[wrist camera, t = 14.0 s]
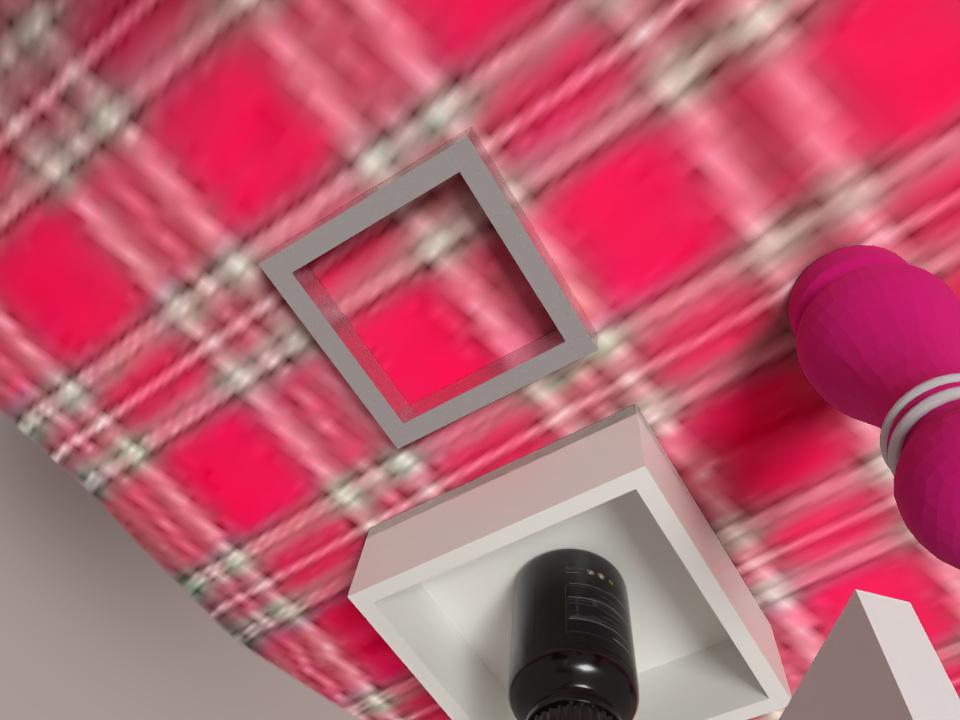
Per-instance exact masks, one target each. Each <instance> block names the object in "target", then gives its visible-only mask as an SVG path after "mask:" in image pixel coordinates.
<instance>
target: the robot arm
mask: <svg viewBox="0 0 960 720" xmlns="http://www.w3.org/2000/svg"><path fill="white" fill-rule="evenodd" d="M779 720H960V699H959V697H958V695H957V693H956V691H955V689H954V687H953V685H952V683H951V681H950V680H949V678H948V676H947V674H946V672H945V670H944V668H943V666H942V664H941V662H940V660H939V658H938V656H937V654H936V652H935V650H934V648H933V646H932V644H931V642H930V641H929V639H928V637H927V635H926V633H925V631H924V629H923V627H922V625H921V623H920V621H919V619H918V617H917V615H916V613H915V611H914V609H913V607H912V605H911V603H910V602H906V601H902V600H898V599H894V598H890V597H886V596H882V595H878V594H873V593H869V592H865V591H861V590H857V589H855V591H854V593H853V594H852V596H851V598H850V599H849V601H848V603H847V604H846V606H845V608H844V610H843V611H842V613H841V615H840V616H839V618H838V620H837V622H836V623H835V625H834V627H833V628H832V630H831V632H830V633H829V635H828V637H827V639H826V640H825V642H824V644H823V645H822V647H821V649H820V650H819V652H818V654H817V656H816V657H815V659H814V661H813V662H812V664H811V666H810V667H809V669H808V671H807V673H806V674H805V676H804V678H803V679H802V681H801V683H800V685H799V686H798V688H797V690H796V691H795V693H794V695H793V696H792V698H791V700H790V702H789V703H788V705H787V707H786V708H785V710H784V712H783V713H782V715H781V717H780V719H779Z"/></svg>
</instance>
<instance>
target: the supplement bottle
mask: <svg viewBox="0 0 960 720" xmlns="http://www.w3.org/2000/svg"><path fill="white" fill-rule="evenodd" d="M508 699H509V704H510V708H511V710H512V713H513V715H514V717H515V718H516V720H633V719H634V717H635V715H636V712H637V710H638V705H639V685H638V676H637V668H636V659H635V651H634V642H633V634H632V625H631V617H630V608H629V601H628V594H627V588H626V585H625V582H624V579H623V577H622V576H621V574H620V572H619V571H618V570H617V569H616V567H615V566H614V565H613V564H611V563H610V562H609V561H608V560H606V559H605V558H603V557H601V556H600V555H597V554H595V553H592V552H590V551H586V550H581V549H572V548H567V549H557V550H553V551H549V552H546V553H544V554H542V555H540V556H538V557H536V558H534V559H533V560H532V561H530V562H529V563H528V564H527V565H526V566H525V567H524V568H523V570H522V571H521V572H520V574H519V576H518V578H517V580H516V583H515V588H514V596H513V609H512V627H511V644H510V662H509V679H508Z"/></svg>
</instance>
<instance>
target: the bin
mask: <svg viewBox="0 0 960 720" xmlns="http://www.w3.org/2000/svg"><path fill="white" fill-rule="evenodd" d="M567 548H572V549H581V550H586V551H590V552H592V553H595V554H597V555H600V556H601V557H603V558H605V559H606V560H608V561H609V562H610V563H611V564H613V565H614V566H615V567H616V569H617V570H618V571H619V572H620V574H621V576H622V577H623V579H624V582H625V585H626V588H627V594H628V601H629V608H630V617H631V625H632V634H633V642H634V651H635V659H636V668H637V676H638V685H639V705H638V710H637V712H636V715H635V717H634V719H633V720H748V719H751V718H754V717H757V716H760V715H763V714H766V713H769V712H772V711H775V710H778V709H781V708H784V707H787V705H788V703H789V702H790V700H791V698H792V696H791V693H790V689H789V686H788V682H787V679H786V676H785V672H784V669H783V666H782V662H781V659H780V655H779V652H778V649H777V645H776V642H775V639H774V635H773V632H772V628H771V625H770V624H769V622H768V620H767V619H766V617H765V615H764V614H763V612H762V611H761V609H760V607H759V606H758V604H757V602H756V601H755V599H754V597H753V596H752V594H751V592H750V591H749V589H748V588H747V586H746V584H745V583H744V581H743V579H742V578H741V576H740V574H739V573H738V571H737V569H736V568H735V566H734V565H733V563H732V561H731V560H730V558H729V556H728V555H727V553H726V551H725V550H724V548H723V546H722V545H721V543H720V542H719V540H718V538H717V537H716V535H715V533H714V532H713V530H712V528H711V527H710V525H709V523H708V522H707V520H706V519H705V517H704V515H703V514H702V512H701V510H700V509H699V507H698V505H697V504H696V502H695V500H694V499H693V497H692V496H691V494H690V492H689V491H688V489H687V487H686V486H685V484H684V482H683V481H682V479H681V477H680V476H679V474H678V473H677V471H676V469H675V468H674V466H673V464H672V463H671V461H670V459H669V458H668V456H667V454H666V453H665V451H664V450H663V448H662V446H661V445H660V443H659V441H658V440H657V438H656V436H655V435H654V433H653V431H652V430H651V428H650V427H649V425H648V423H647V422H646V420H645V418H644V417H643V415H642V413H641V412H640V410H639V408H638V407H637V405H636V404H635V405H633V406H630V407H628V408H626V409H624V410H622V411H620V412H618V413H615V414H613V415H611V416H609V417H607V418H605V419H603V420H600V421H598V422H596V423H594V424H592V425H590V426H588V427H585V428H583V429H581V430H579V431H577V432H575V433H573V434H570V435H568V436H566V437H564V438H562V439H560V440H558V441H555V442H553V443H551V444H549V445H547V446H545V447H543V448H540V449H538V450H536V451H534V452H532V453H530V454H528V455H525V456H523V457H521V458H519V459H517V460H515V461H513V462H510V463H508V464H506V465H504V466H502V467H500V468H498V469H495V470H493V471H491V472H489V473H487V474H485V475H483V476H480V477H478V478H476V479H474V480H472V481H470V482H468V483H465V484H463V485H461V486H459V487H457V488H455V489H453V490H450V491H448V492H446V493H444V494H442V495H440V496H438V497H435V498H433V499H431V500H429V501H427V502H425V503H423V504H420V505H418V506H416V507H414V508H412V509H410V510H408V511H405V512H403V513H401V514H399V515H397V516H395V517H393V518H390V519H388V520H386V521H384V522H382V523H380V524H378V525H375V526H373V527H371V528H370V529H369V532H368V535H367V538H366V541H365V544H364V547H363V551H362V554H361V557H360V560H359V563H358V566H357V569H356V572H355V575H354V578H353V581H352V584H351V587H350V590H349V593H348V596H347V597H348V598H349V599H350V600H351V602H352V603H353V604H354V605H355V606H356V608H357V609H358V610H359V611H360V612H361V613H362V615H363V616H364V617H365V618H366V619H367V620H368V622H369V623H370V624H371V625H372V626H373V628H374V629H375V630H376V631H377V632H378V633H379V635H380V636H381V637H382V638H383V639H384V640H385V642H386V643H387V644H388V645H389V646H390V648H391V649H392V650H393V651H394V652H395V653H396V655H397V656H398V657H399V658H400V659H401V661H402V662H403V663H404V664H405V665H406V666H407V668H408V669H409V670H410V671H411V672H412V673H413V675H414V676H415V677H416V678H417V679H418V681H419V682H420V683H421V684H422V685H423V686H424V688H425V689H426V690H427V691H428V692H429V694H430V695H431V696H432V697H433V698H434V699H435V701H436V702H437V703H438V704H439V705H440V706H441V708H442V709H443V710H444V711H445V712H446V714H447V715H448V716H449V717H450V718H451V719H452V720H516V718H515V717H514V715H513V713H512V710H511V708H510V704H509V699H508V679H509V662H510V644H511V627H512V609H513V596H514V588H515V583H516V580H517V578H518V576H519V574H520V572H521V571H522V570H523V568H524V567H525V566H526V565H527V564H528V563H529V562H530V561H532V560H533V559H534V558H536V557H538V556H540V555H542V554H544V553H546V552H549V551H553V550H557V549H567Z"/></svg>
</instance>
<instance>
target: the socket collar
mask: <svg viewBox="0 0 960 720" xmlns="http://www.w3.org/2000/svg"><path fill="white" fill-rule="evenodd" d="M458 172H460V173H461V175H462V176H463V178H464V180H465V181H466V183H467V184H468V186H469V188H470V189H471V191H472V192H473V194H474V196H475V197H476V199H477V200H478V202H479V204H480V205H481V207H482V208H483V210H484V212H485V213H486V215H487V216H488V218H489V220H490V221H491V223H492V224H493V226H494V228H495V229H496V231H497V232H498V234H499V236H500V237H501V239H502V240H503V242H504V244H505V245H506V247H507V248H508V250H509V252H510V253H511V255H512V256H513V258H514V260H515V261H516V263H517V264H518V266H519V268H520V269H521V271H522V272H523V274H524V276H525V277H526V279H527V280H528V282H529V284H530V285H531V287H532V288H533V290H534V292H535V293H536V295H537V296H538V298H539V300H540V301H541V303H542V304H543V306H544V308H545V309H546V311H547V312H548V314H549V316H550V317H551V319H552V320H553V322H554V324H555V325H556V327H557V328H558V329H557V330H555V331H553V332H551V333H549V334H547V335H545V336H543V337H541V338H539V339H537V340H535V341H534V342H532V343H530V344H528V345H526V346H524V347H522V348H520V349H518V350H516V351H514V352H512V353H510V354H508V355H506V356H504V357H502V358H500V359H498V360H496V361H495V362H493V363H491V364H489V365H487V366H485V367H483V368H481V369H479V370H477V371H475V372H473V373H471V374H469V375H467V376H465V377H463V378H461V379H459V380H457V381H456V382H454V383H452V384H450V385H448V386H446V387H444V388H442V389H440V390H438V391H436V392H434V393H432V394H430V395H428V396H426V397H424V398H422V399H420V400H418V401H416V402H415V403H413V404H411V405H409V404H408V403H407V401H406V400H405V398H404V397H403V396H402V394H401V393H400V392H399V390H398V389H397V388H396V386H395V385H394V383H393V382H392V381H391V379H390V378H389V377H388V375H387V374H386V372H385V371H384V370H383V368H382V367H381V366H380V364H379V363H378V361H377V360H376V359H375V357H374V356H373V355H372V353H371V352H370V351H369V349H368V348H367V346H366V345H365V344H364V342H363V341H362V340H361V338H360V337H359V335H358V334H357V333H356V331H355V330H354V329H353V327H352V326H351V324H350V323H349V322H348V320H347V319H346V318H345V316H344V315H343V313H342V312H341V311H340V309H339V308H338V307H337V305H336V304H335V303H334V301H333V300H332V298H331V297H330V296H329V294H328V293H327V292H326V290H325V289H324V287H323V286H322V285H321V283H320V282H319V281H318V279H317V278H316V276H315V275H314V274H313V272H312V271H311V270H310V268H309V267H308V266H307V263H309V262H311V261H312V260H314V259H316V258H317V257H319V256H321V255H322V254H324V253H326V252H327V251H329V250H331V249H332V248H334V247H336V246H337V245H339V244H341V243H342V242H344V241H346V240H347V239H349V238H351V237H352V236H354V235H356V234H357V233H359V232H360V231H362V230H364V229H365V228H367V227H369V226H370V225H372V224H374V223H375V222H377V221H379V220H380V219H382V218H384V217H385V216H387V215H389V214H390V213H392V212H394V211H395V210H397V209H399V208H400V207H402V206H404V205H405V204H407V203H409V202H410V201H412V200H414V199H415V198H417V197H419V196H420V195H422V194H424V193H425V192H427V191H429V190H430V189H432V188H434V187H435V186H437V185H439V184H440V183H442V182H443V181H445V180H447V179H448V178H450V177H452V176H453V175H455V174H457V173H458ZM259 266H260V267H261V268H262V270H263V271H264V272H265V274H266V275H267V276H268V278H269V279H270V280H271V282H272V283H273V284H274V286H275V287H276V288H277V290H278V291H279V292H280V294H281V295H282V296H283V298H284V299H285V300H286V302H287V303H288V304H289V306H290V307H291V308H292V310H293V311H294V312H295V314H296V315H297V316H298V318H299V319H300V320H301V322H302V323H303V324H304V325H305V327H306V328H307V329H308V331H309V332H310V333H311V335H312V336H313V337H314V339H315V340H316V341H317V343H318V344H319V345H320V347H321V348H322V349H323V351H324V352H325V353H326V355H327V356H328V357H329V359H330V360H331V361H332V363H333V364H334V365H335V367H336V368H337V369H338V371H339V372H340V373H341V375H342V376H343V377H344V379H345V380H346V381H347V383H348V384H349V385H350V387H351V388H352V389H353V391H354V392H355V393H356V395H357V396H358V397H359V399H360V400H361V401H362V402H363V404H364V405H365V406H366V408H367V409H368V410H369V412H370V413H371V414H372V416H373V417H374V418H375V420H376V421H377V422H378V424H379V425H380V426H381V428H382V429H383V430H384V432H385V433H386V434H387V436H388V437H389V438H390V440H391V441H392V442H393V444H394V445H395V446H396V448H397V449H399V448H401V447H403V446H405V445H407V444H409V443H411V442H413V441H415V440H417V439H419V438H421V437H423V436H425V435H427V434H429V433H431V432H433V431H435V430H437V429H439V428H441V427H443V426H445V425H447V424H449V423H451V422H453V421H455V420H457V419H459V418H461V417H463V416H465V415H467V414H469V413H471V412H473V411H475V410H477V409H479V408H481V407H483V406H486V405H488V404H490V403H492V402H494V401H496V400H498V399H500V398H502V397H504V396H506V395H508V394H510V393H512V392H514V391H516V390H518V389H520V388H522V387H524V386H526V385H528V384H530V383H532V382H534V381H536V380H538V379H540V378H542V377H544V376H546V375H548V374H550V373H552V372H554V371H556V370H558V369H560V368H562V367H564V366H566V365H568V364H570V363H572V362H574V361H576V360H578V359H580V358H582V357H584V356H586V355H588V354H590V353H592V352H594V351H596V350H598V340H597V332H596V331H595V329H594V327H593V326H592V324H591V322H590V321H589V319H588V317H587V316H586V314H585V312H584V311H583V309H582V307H581V306H580V304H579V303H578V301H577V299H576V298H575V296H574V294H573V293H572V291H571V289H570V288H569V286H568V284H567V283H566V281H565V279H564V278H563V276H562V275H561V273H560V271H559V270H558V268H557V266H556V265H555V263H554V261H553V260H552V258H551V256H550V255H549V253H548V251H547V250H546V248H545V246H544V245H543V243H542V242H541V240H540V238H539V237H538V235H537V233H536V232H535V230H534V228H533V227H532V225H531V223H530V222H529V220H528V218H527V217H526V215H525V214H524V212H523V210H522V209H521V207H520V205H519V204H518V202H517V200H516V199H515V197H514V195H513V194H512V192H511V190H510V189H509V187H508V185H507V184H506V182H505V181H504V179H503V177H502V176H501V174H500V172H499V171H498V169H497V167H496V166H495V164H494V162H493V161H492V159H491V157H490V156H489V154H488V152H487V151H486V149H485V148H484V146H483V144H482V143H481V141H480V139H479V138H478V136H477V134H476V133H475V131H474V129H473V128H472V127H471V128H469V129H468V130H466V131H464V132H463V133H461V134H460V135H458V136H456V137H455V138H453V139H451V140H450V141H448V142H447V143H445V144H443V145H442V146H440V147H439V148H437V149H435V150H434V151H432V152H430V153H429V154H427V155H426V156H424V157H422V158H421V159H419V160H417V161H416V162H414V163H413V164H411V165H409V166H408V167H406V168H405V169H403V170H401V171H400V172H398V173H396V174H395V175H393V176H392V177H390V178H388V179H387V180H385V181H384V182H382V183H380V184H379V185H377V186H375V187H374V188H372V189H371V190H369V191H367V192H366V193H364V194H363V195H361V196H359V197H358V198H356V199H354V200H353V201H351V202H350V203H348V204H346V205H345V206H343V207H341V208H340V209H338V210H337V211H335V212H333V213H332V214H330V215H329V216H327V217H325V218H324V219H322V220H320V221H319V222H317V223H316V224H314V225H312V226H311V227H309V228H308V229H306V230H304V231H303V232H301V233H299V234H298V235H296V236H295V237H293V238H291V239H290V240H288V241H287V242H285V243H283V244H282V245H280V246H278V247H277V248H275V249H274V250H272V251H271V252H270V253H269V254H268V255H267V256H266V257H265V258H264V259H263V260H262V261H261V263H260V264H259Z"/></svg>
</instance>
